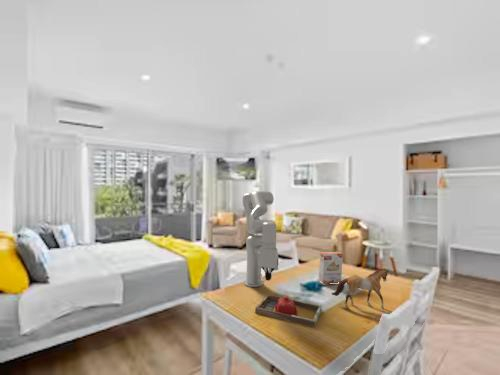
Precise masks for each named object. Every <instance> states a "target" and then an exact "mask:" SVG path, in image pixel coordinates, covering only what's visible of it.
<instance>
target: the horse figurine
mask: <svg viewBox="0 0 500 375" xmlns="http://www.w3.org/2000/svg"><path fill="white" fill-rule="evenodd" d="M388 272H389V269H387V268H379V269H377V270H375V271H374V272H372V273H370V274H369V275H368V276H361V275H357V274H353V275H350V276H348V277H346V278H344V279H341V281H340V282H339V284H337V285H336V289H335V291H334V292H331V295H332V296H335V297H338V296H339V295H340V294H341V293H342V292H343V291H344V289H345V285H347V287H348V291H347V295H346V296H345V302H344V307H345V308H346V309H349V306H348V301H349V300H350V302H349V303H350V304H351V305H352V306H354V299H353V297H352V295H353V294H354V292H356V291H357V290H358V289H360V290H364V291H368V292H367V299H366V303H367V306H368V307H371V306H372V305H371V303H370V302H369V301H370V297H371V293H372V291H374V292H375V293H376V295H377V296H378V297H379V298H380V302H381V305H380V307H381V308H382V309H384V304H385V303H384V300H383V296H382V292H381V288H382V287H381V279H382V281H383V282H386V281H388V280H387V279H388V277H387V276H388Z"/></svg>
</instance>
